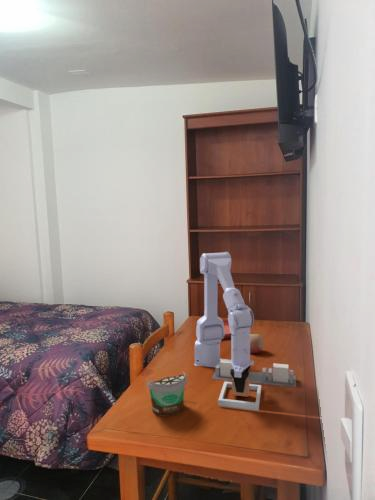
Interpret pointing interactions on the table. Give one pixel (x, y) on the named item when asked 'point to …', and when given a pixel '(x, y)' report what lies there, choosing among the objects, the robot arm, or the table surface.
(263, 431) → the table surface
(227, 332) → the plant saucer
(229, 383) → the tray
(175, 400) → the food container
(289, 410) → the table surface
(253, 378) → the rail
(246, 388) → the block
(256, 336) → the fruit
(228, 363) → the block
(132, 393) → the table surface
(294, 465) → the table surface
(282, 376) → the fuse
